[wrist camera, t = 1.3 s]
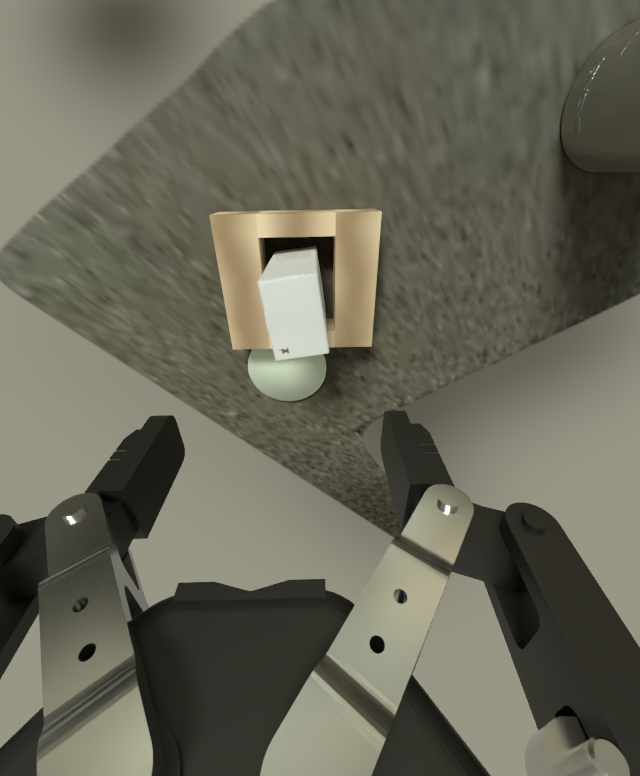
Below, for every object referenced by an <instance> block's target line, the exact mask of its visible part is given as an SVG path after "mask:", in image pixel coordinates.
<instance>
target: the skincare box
mask: <svg viewBox="0 0 640 776" xmlns="http://www.w3.org/2000/svg"><path fill="white" fill-rule="evenodd" d="M257 285H258V289H259V293H260V297H261V302H262V306H263V310H264V315H265V322H266V326H267V330H268V333H269V337H270V341H271V345H272V349H273V353H274V357H275V360H276V361H283V360H289V359H295V358H301V357H308V356H316V355H322V354H328V353H329V342H328V331H327V321H326V312H325V302H324V294H323V287H322V280H321V273H320V267H319V261H318V254H317V247H316V246H310V247H303V248H296V249H289V250H282V251H276V252H274V254H273V256H272V258H271V259H270V261H269V263H268V265H267V267H266V268H265V270H264V272H263V274H262V275H261V277H260V279H259V280H258V282H257Z"/></svg>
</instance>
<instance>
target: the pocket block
mask: <svg viewBox="0 0 640 776" xmlns="http://www.w3.org/2000/svg"><path fill="white" fill-rule="evenodd" d="M209 216H210V222H211V228H212V233H213V239H214V245H215V250H216V256H217V262H218V267H219V273H220V279H221V284H222V290H223V296H224V301H225V307H226V313H227V318H228V324H229V329H230V335H231V341H232V346H233V350H234V349H272V345H271V341H270V337H269V333H268V330H267V326H266V322H265V315H264V310H263V306H262V302H261V297H260V293H259V289H258V285H257V282H258V280H259V279H260V277H261V275H262V274H263V272H264V270H265V268H266V267H267V261H266V251H265V241H264V238H274V237H324V236H333V318H329V319H326V321H327V331H328V342H329V347H371V346H372V335H373V321H374V308H375V295H376V282H377V269H378V255H379V242H380V229H381V216H382V212H381V211H379V210H377V209H338V210H288V211H237V212H218V213H215V214H211V215H209Z"/></svg>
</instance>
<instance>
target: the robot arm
mask: <svg viewBox="0 0 640 776" xmlns="http://www.w3.org/2000/svg"><path fill="white" fill-rule="evenodd" d="M561 136H562V142H563V147H564V150H565V152H566V154H567V157H568V158H569V159H570V160H571V162H572V163H573V164H574V165H575V166H577V167H578V168H580V169H582V170H584V171H588V172H592V173H597V172H640V19H639V20H637V21H635V22H633V23H631V24H629V25H627V26H626V27H624V28H622V29H620V30H618V31H617V32H616V33H615V34H613V35H612V36H611V37H609V38H608V39H607V40H606V41H604V42H603V44H602V45H601V46H600V47H599V48H598V49H597V50H596V51H595V52H594V53H593V54H592V55H591V57H590V58H589V59H588V61H587V62H586V63H585V65H584V66H583V68H582V69H581V70H580V72H579V74H578V76H577V78H576V80H575V81H574V83H573V85H572V87H571V90H570V92H569V95H568V98H567V100H566V103H565V107H564V112H563V116H562V127H561ZM184 455H185V449H184V444H183V441H182V438H181V435H180V432H179V428H178V425H177V422H176V420H175V418H174V416H151V417H149V419H148V420H147V421H146V423H145V424H144V426H143V427H142V429H141V430H135V431H134V432H133V433H131V434H130V435H129V436H127V437H126V438H125V439H124V440H123V441H122V443H121V444H120V445H119V447H118V448H117V450H116V452H114V454H113V455H112V456H111V457H110V461H107V463H106V464H105V466H104V467H103V468H102V470H101V471H100V472H99V474H98V475H97V476H96V478H95V479H94V480H93V482H92V483H91V485H90V486H89V487H88V489H87V490H86V491H85V493H82V494H78V495H75V496H72V497H70V498H68V499H66V500H65V501H63V502H61V503H60V504H59V505H57V506H56V507H55V508H54V509H53V510H52V511H51V512H50V513H49V515H48V516H47V517H44V518H40V519H37V520H33V521H29V522H25V523H22V524H17V523H16V522H15V521H14V520H13V518H12V517H11V516H9V515H4V514H0V679H1V677H2V675H3V674H4V672H5V670H6V668H7V666H8V665H9V663H10V662H11V660H12V658H13V656H14V655H15V653H16V651H17V650H18V648H19V646H20V644H21V643H22V641H23V639H24V638H25V636H26V634H27V632H28V631H29V629H30V627H31V626H32V624H33V622H34V620H35V619H36V617H37V615H38V614H39V621H40V645H41V666H42V690H43V707H42V709H40V710H39V712H37V713H36V714H35V715H34V716H33V717H32V718H31V719H30V720H29V721H28V722H27V723H26V724H25V725H24V726H23V727H22V728H21V729H20V730H19V731H18V732H17V733H16V734H15V735H13V736H12V737H11V738H10V739H9V740H8V741H7V742H6V743H5V744H4V745H3V746H2V747H1V748H0V776H490V774H489V773H488V772H487V770H486V769H485V768H484V766H483V765H482V764H481V763H480V761H479V760H478V759H477V757H476V756H475V755H474V754H473V752H472V751H471V750H470V748H469V747H468V746H467V745H466V743H465V742H464V741H463V740H462V738H461V737H460V736H459V734H458V733H457V732H456V731H455V729H454V728H453V727H452V725H451V724H450V723H449V721H448V720H447V719H446V717H445V716H444V715H443V714H442V712H441V711H440V710H439V708H438V707H437V706H436V705H435V703H434V702H433V701H432V700H431V698H430V697H429V696H428V694H427V693H426V692H425V691H424V689H423V688H422V687H421V685H420V684H419V683H418V681H417V680H416V679H415V678H414V676H413V675H412V674H413V671H414V669H415V666H416V663H417V661H418V658H419V656H420V653H421V650H422V648H423V645H424V642H425V640H426V637H427V635H428V632H429V629H430V627H431V624H432V621H433V619H434V616H435V614H436V611H437V609H438V606H439V603H440V601H441V598H442V596H443V593H444V590H445V588H446V585H447V583H448V580H449V577H450V575H451V572H455V573H458V574H461V575H465V576H468V577H472V578H475V579H478V580H481V581H484V583H485V586H486V589H487V592H488V594H489V597H490V600H491V603H492V605H493V608H494V611H495V613H496V616H497V619H498V621H499V624H500V627H501V630H502V632H503V635H504V638H505V641H506V643H507V646H508V649H509V651H510V654H511V657H512V660H513V662H514V665H515V668H516V671H517V673H518V676H519V679H520V681H521V684H522V687H523V690H524V692H525V695H526V698H527V700H528V703H529V706H530V709H531V711H532V714H533V717H534V720H535V722H536V725H537V728H538V730H539V731H538V732H537V733H535V734H534V735H533V736H532V737H531V738H530V739H529V741H528V743H527V745H526V750H525V765H526V771H527V776H640V647H639V646H638V644H637V643H636V641H635V640H634V638H633V637H632V635H631V634H630V632H629V631H628V629H627V628H626V626H625V624H624V623H623V621H622V620H621V618H620V617H619V615H618V614H617V612H616V611H615V609H614V607H613V606H612V604H611V603H610V601H609V600H608V598H607V597H606V595H605V594H604V592H603V591H602V589H601V588H600V586H599V584H598V583H597V581H596V580H595V578H594V577H593V575H592V574H591V572H590V571H589V569H588V567H587V566H586V564H585V563H584V561H583V560H582V558H581V557H580V555H579V554H578V552H577V551H576V549H575V547H574V546H573V544H572V543H571V541H570V540H569V538H568V537H567V535H566V534H565V532H564V531H563V529H562V528H561V526H560V525H559V523H558V522H557V521H556V519H555V518H554V517H552V516H551V515H550V514H549V513H548V512H546V511H545V510H543V509H541V508H539V507H537V506H535V505H532V504H527V503H514V504H512V505H510V506H509V507H508V508H507V509H506V511H505V512H503V511H499V510H495V509H491V508H487V507H483V506H480V505H477V504H475V503H472V502H471V500H470V498H469V497H468V496H467V495H466V494H465V493H463V491H461V490H460V489H458V488H456V487H454V485H453V482H452V480H451V478H450V476H449V474H448V472H447V469H446V467H445V465H444V463H443V461H442V459H441V457H440V454H438V450H437V448H436V446H435V445H434V441H433V439H432V437H431V435H430V433H429V432H428V431H427V430H426V429H425V428H424V427H423V426H422V425H421V424H411V423H410V421H409V418H408V416H407V413H406V412H405V411H385V413H384V418H383V427H382V436H381V455H382V460H383V463H384V468H385V472H386V476H387V480H388V484H389V488H390V492H391V496H392V500H393V504H394V508H395V512H396V516H397V520H398V524H399V528H400V532H401V533H402V534H401V535H400V537H399V538H397V537H396V538H394V540H393V541H392V542H391V544H390V545H389V547H388V549H387V551H386V552H385V554H384V556H383V557H382V559H381V561H380V563H379V564H378V566H377V568H376V570H375V571H374V573H373V575H372V576H371V578H370V580H369V581H368V583H367V585H366V587H365V588H364V590H363V592H362V594H361V595H360V597H359V599H358V600H357V602H356V604H355V605H354V604H353V603H352V602H351V601H349V600H348V599H346V598H344V597H342V596H340V595H338V594H336V593H333V592H330V591H326V590H325V579H311V580H310V579H309V580H288V581H284V582H281V583H278V584H274V585H271V586H268V587H264V588H261V589H257V590H254V591H246V590H242V589H239V588H235V587H231V586H228V585H224V584H220V583H216V582H194V583H179V584H178V586H177V590H176V592H175V595H174V596H172V597H169V598H167V599H165V600H162V601H160V602H158V603H156V604H155V605H153V606H151V607H150V608H149V606H148V604H147V602H146V599H145V596H144V593H143V590H142V587H141V583H140V580H139V577H138V573H137V570H136V567H135V563H134V560H133V557H132V553H131V551H130V549H129V546H130V544H131V542H132V540H133V539H141V538H142V539H143V538H148V535H149V533H150V531H151V529H152V527H153V525H154V523H155V520H156V518H157V516H158V514H159V512H160V510H161V507H162V505H163V503H164V501H165V499H166V497H167V495H168V493H169V491H170V488H171V486H172V484H173V482H174V480H175V478H176V476H177V473H178V471H179V469H180V467H181V465H182V462H183V460H184Z"/></svg>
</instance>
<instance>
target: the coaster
mask: <svg viewBox="0 0 640 776" xmlns="http://www.w3.org/2000/svg"><path fill="white" fill-rule="evenodd" d="M248 371H249V375H250V378H251V380H252V382H253V383H254V385H255V386H256V387H257V388H258V389H259V390H260V391H261V392H262V393H264V394H265V395H267V396H269V397H271V398H274V399H277V400H281V401H297V400H301V399H304V398H306V397H308V396H310V395H312V394H313V393H315V392H316V391H317V390H318V389H319V388H320V386H321V385H322V383H323V381H324V379H325V375H326V360H325V356H324V354H322V355H316V356H308V357H301V358H295V359H289V360H283V361H276V360H275V357H274V353H273V349H252V351H251V353H250V356H249V360H248Z"/></svg>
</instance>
